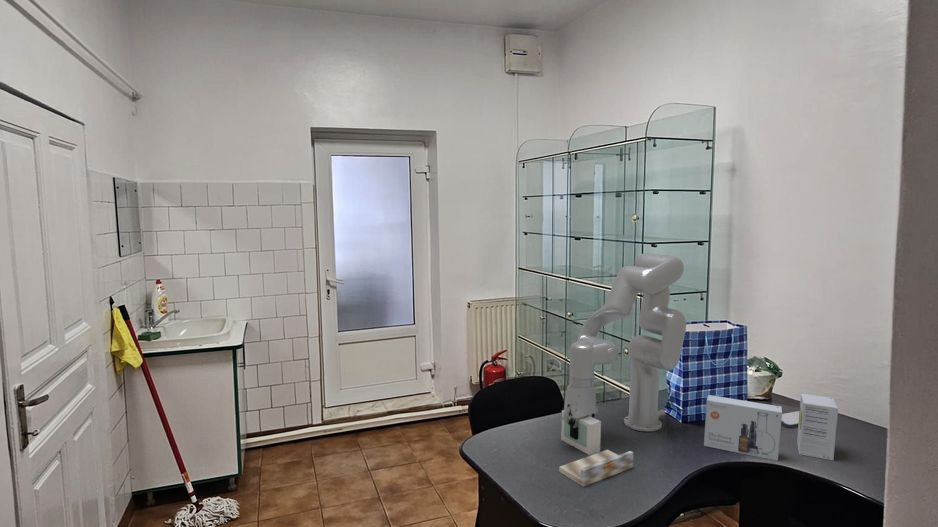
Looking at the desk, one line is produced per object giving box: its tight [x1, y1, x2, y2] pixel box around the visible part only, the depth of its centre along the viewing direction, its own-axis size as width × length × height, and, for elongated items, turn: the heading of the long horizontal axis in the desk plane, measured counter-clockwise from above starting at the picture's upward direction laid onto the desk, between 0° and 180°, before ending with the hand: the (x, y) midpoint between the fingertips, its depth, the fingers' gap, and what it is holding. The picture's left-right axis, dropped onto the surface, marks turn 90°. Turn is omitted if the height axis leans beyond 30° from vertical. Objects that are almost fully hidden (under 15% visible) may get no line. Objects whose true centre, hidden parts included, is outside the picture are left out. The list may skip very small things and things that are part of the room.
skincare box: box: [703, 394, 783, 462], centre depth 174 cm, size 21×5×16 cm, turn 62°
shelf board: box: [558, 449, 634, 487], centre depth 163 cm, size 20×10×5 cm, turn 123°
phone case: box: [781, 410, 800, 429], centre depth 198 cm, size 9×2×16 cm
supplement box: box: [796, 393, 839, 461], centre depth 173 cm, size 10×9×17 cm
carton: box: [560, 409, 602, 456], centre depth 178 cm, size 5×13×10 cm, turn 33°
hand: (580, 435), depth 178 cm, fingers closed on carton, 4 cm apart
